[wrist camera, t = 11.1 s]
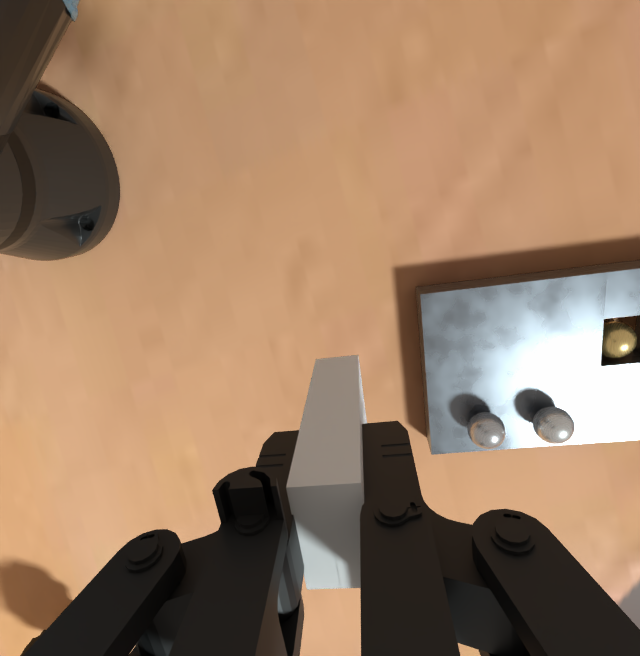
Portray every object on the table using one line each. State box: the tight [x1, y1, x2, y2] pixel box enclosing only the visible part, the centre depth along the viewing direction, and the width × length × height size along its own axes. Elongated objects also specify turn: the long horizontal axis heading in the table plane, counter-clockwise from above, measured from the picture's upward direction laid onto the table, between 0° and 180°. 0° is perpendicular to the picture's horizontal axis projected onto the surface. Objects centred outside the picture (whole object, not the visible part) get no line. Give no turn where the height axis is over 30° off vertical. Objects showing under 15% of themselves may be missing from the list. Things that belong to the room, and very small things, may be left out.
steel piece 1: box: [467, 412, 506, 449], centre depth 39 cm, size 3×3×3 cm
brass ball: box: [601, 321, 637, 358], centre depth 38 cm, size 3×3×3 cm
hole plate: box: [416, 260, 640, 454], centre depth 39 cm, size 17×24×3 cm
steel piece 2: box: [533, 406, 575, 444], centre depth 38 cm, size 3×3×3 cm
